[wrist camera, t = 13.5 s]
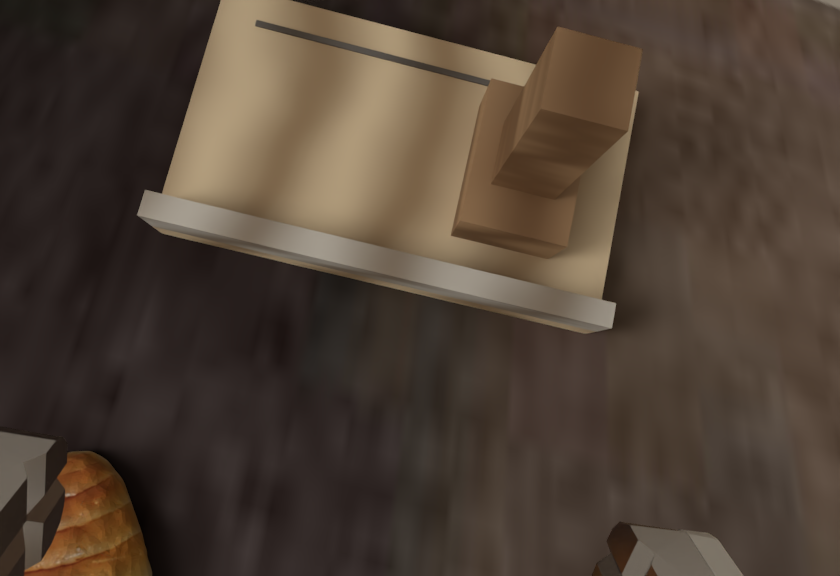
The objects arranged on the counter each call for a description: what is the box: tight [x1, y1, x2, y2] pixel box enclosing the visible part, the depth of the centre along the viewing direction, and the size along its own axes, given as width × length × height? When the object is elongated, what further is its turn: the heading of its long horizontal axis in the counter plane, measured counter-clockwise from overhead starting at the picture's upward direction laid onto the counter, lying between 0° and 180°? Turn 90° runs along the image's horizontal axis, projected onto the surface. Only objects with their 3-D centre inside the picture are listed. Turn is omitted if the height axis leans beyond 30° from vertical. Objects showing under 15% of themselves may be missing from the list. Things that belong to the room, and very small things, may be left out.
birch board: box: [137, 0, 639, 334], centre depth 31 cm, size 22×13×4 cm, turn 77°
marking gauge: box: [451, 27, 643, 259], centre depth 26 cm, size 5×8×11 cm, turn 167°
